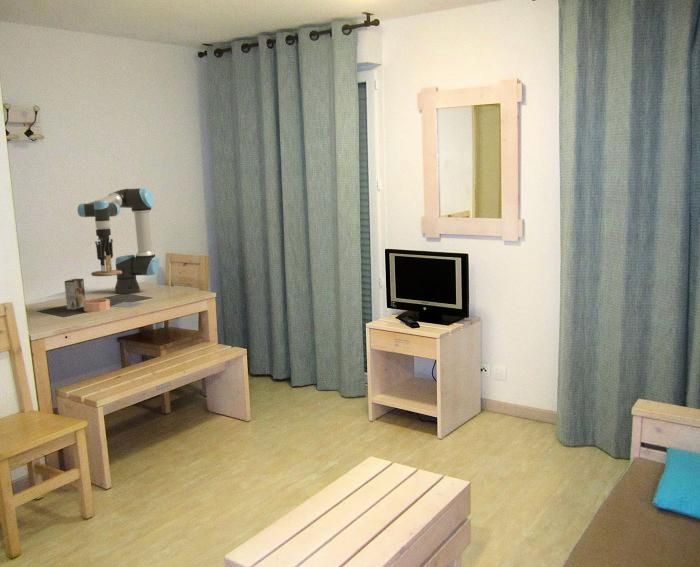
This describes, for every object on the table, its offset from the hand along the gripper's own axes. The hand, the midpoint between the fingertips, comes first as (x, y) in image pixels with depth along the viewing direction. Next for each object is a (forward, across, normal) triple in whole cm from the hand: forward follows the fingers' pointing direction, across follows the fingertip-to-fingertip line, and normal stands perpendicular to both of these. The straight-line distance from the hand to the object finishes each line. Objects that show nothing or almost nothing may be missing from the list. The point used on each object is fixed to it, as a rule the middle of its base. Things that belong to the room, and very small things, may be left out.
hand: (106, 270), depth 380 cm
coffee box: (+21, +1, -20) cm, 30 cm away
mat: (+21, -9, +6) cm, 24 cm away
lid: (+2, 0, 0) cm, 2 cm away
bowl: (+21, +5, -4) cm, 22 cm away
